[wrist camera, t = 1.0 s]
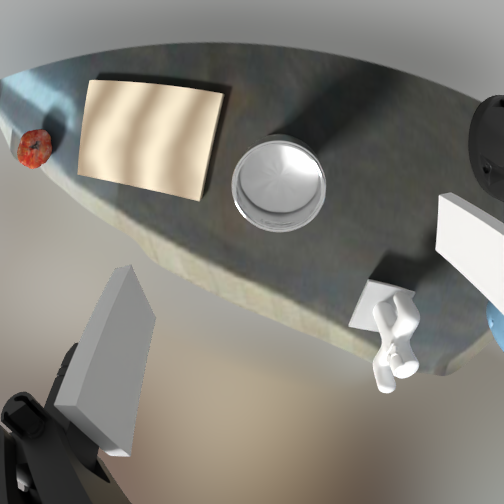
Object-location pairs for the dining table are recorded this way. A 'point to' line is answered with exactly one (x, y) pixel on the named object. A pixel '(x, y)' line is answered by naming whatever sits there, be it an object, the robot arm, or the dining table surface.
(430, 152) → the dining table surface
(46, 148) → the pomegranate
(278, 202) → the beer glass
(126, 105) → the birch board
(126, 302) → the robot arm
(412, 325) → the figurine
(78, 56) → the dining table surface
